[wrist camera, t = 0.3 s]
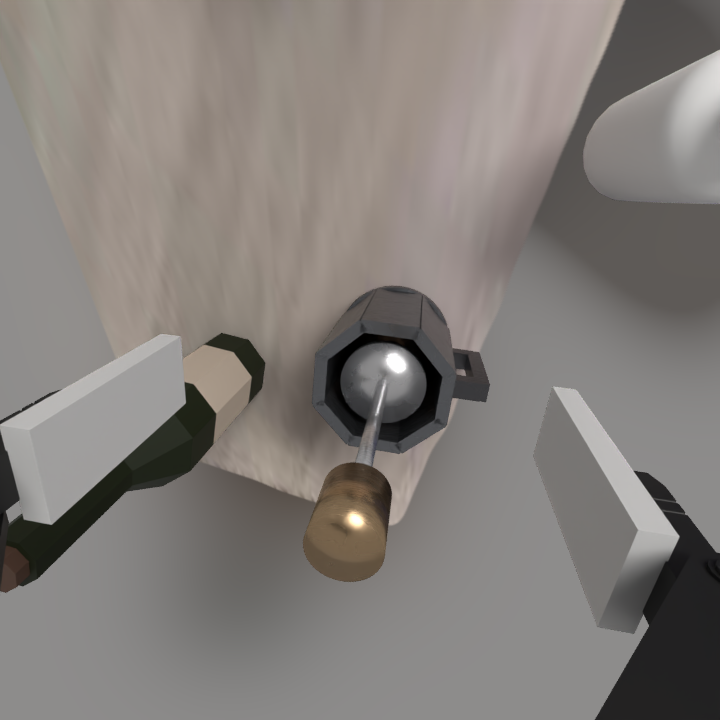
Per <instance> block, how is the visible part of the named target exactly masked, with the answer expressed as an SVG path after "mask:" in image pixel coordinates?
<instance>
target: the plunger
mask: <svg viewBox="0 0 720 720" xmlns="http://www.w3.org/2000/svg"><path fill="white" fill-rule="evenodd" d="M341 390H342V394H343V396H344V398H345V400H346V402H347V403H348V405H349V406H350V407H351V408H352V409H353V410H354V411H355V412H356V413H357V414H359V415H360V416H362V417H364V418H366V419H367V421H366V425H365V429H364V432H363V436H362V440H361V443H360V447H359V451H358V454H357V458H356V462H355V463H345V464H342V465H339V466H337V467H335V468H334V469H332V470H331V471H330V472H329V473H328V475H327V476H326V478H325V480H324V483H323V486H322V489H321V491H320V494H319V497H318V500H317V502H316V505H315V508H314V511H313V514H312V516H311V519H310V522H309V525H308V527H307V530H306V533H305V536H304V539H303V548H304V552H305V555H306V557H307V559H308V561H309V562H310V564H311V565H312V566H313V567H314V568H315V569H316V570H318V571H319V572H320V573H322V574H323V575H325V576H327V577H329V578H332V579H335V580H339V581H344V582H354V581H355V582H356V581H361V580H364V579H367V578H369V577H371V576H373V575H374V574H375V573H376V572H377V571H378V570H379V569H380V567H381V566H382V564H383V561H384V557H385V549H386V541H387V533H388V524H389V516H390V508H391V499H392V491H391V487H390V484H389V482H388V480H387V479H386V478H385V476H384V475H383V474H382V473H381V472H379V471H378V470H377V469H375V468H373V467H372V466H373V461H374V456H375V451H376V446H377V441H378V436H379V431H380V427H381V423H391V422H396V421H400V420H402V419H405V418H406V417H408V416H410V415H411V414H413V413H414V412H415V411H416V410H417V409H418V407H419V406H420V405H421V403H422V401H423V399H424V396H425V393H426V373H425V370H424V367H423V365H422V363H421V361H420V360H419V358H418V357H417V356H416V355H415V353H413V352H412V351H411V350H410V349H408V348H407V347H405V346H403V345H401V344H399V343H396V342H392V341H373V342H370V343H367V344H364V345H362V346H361V347H359V348H357V349H356V350H355V351H354V352H353V353H352V354H351V355H350V356H349V358H348V359H347V361H346V363H345V365H344V367H343V370H342V373H341Z"/></svg>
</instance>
